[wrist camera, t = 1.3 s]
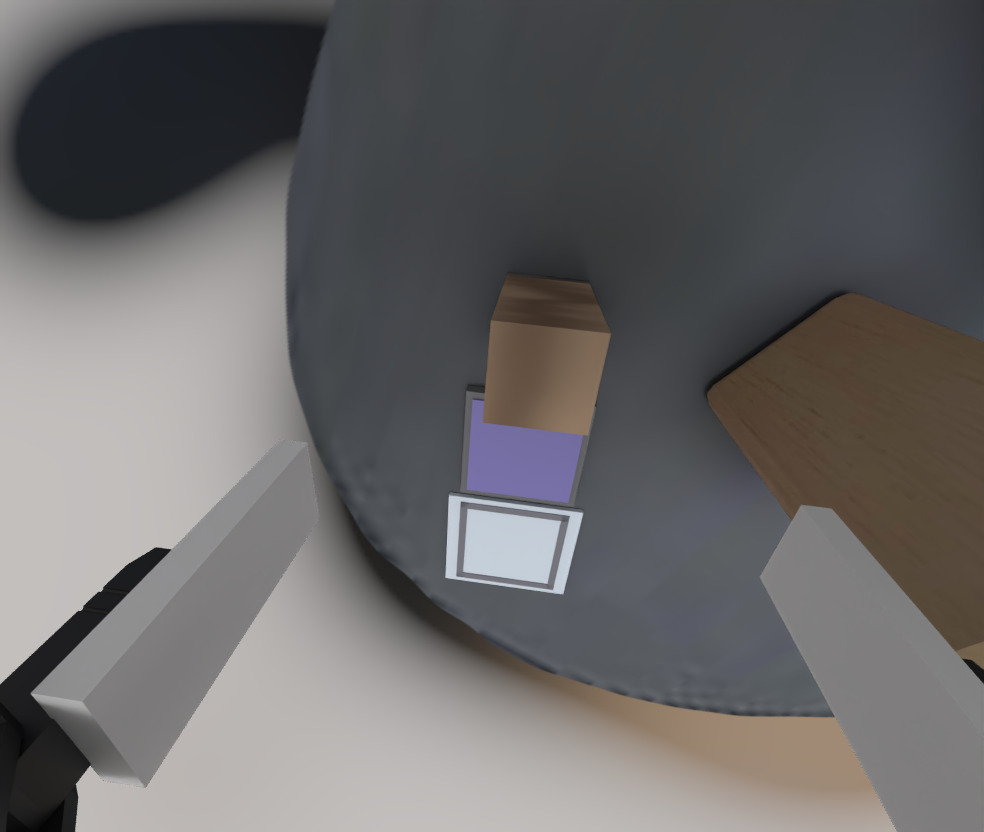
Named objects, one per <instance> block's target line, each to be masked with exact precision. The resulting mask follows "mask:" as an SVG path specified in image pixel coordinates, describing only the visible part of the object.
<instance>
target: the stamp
mask: <svg viewBox="0 0 984 832" xmlns="http://www.w3.org/2000/svg"><path fill="white" fill-rule="evenodd" d="M610 337H611V332H610V330H609V328H608V325H607V323H606V321H605V318H604V316H603V313H602V311H601V309H600V306H599V304H598V302H597V299H596V297H595V295H594V292H593V290H592V288H591V285H590V283H589V281H584V280H575V279H566V278H556V277H547V276H537V275H528V274H519V273H509V272H508V273H507V276H506V278H505V281H504V284H503V287H502V290H501V293H500V296H499V299H498V302H497V304H496V307H495V310H494V313H493V316H492V319H491V326H490V338H489V350H488V362H487V374H486V386H485V399H484V411H483V423H489V424H497V425H505V426H514V427H522V428H530V429H538V430H546V431H554V432H562V433H570V434H578V435H587V436H588V433H589V428H590V424H591V420H592V415H593V411H594V406H595V402H596V398H597V393H598V389H599V385H600V380H601V376H602V372H603V367H604V363H605V358H606V354H607V350H608V345H609V341H610Z"/></svg>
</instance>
